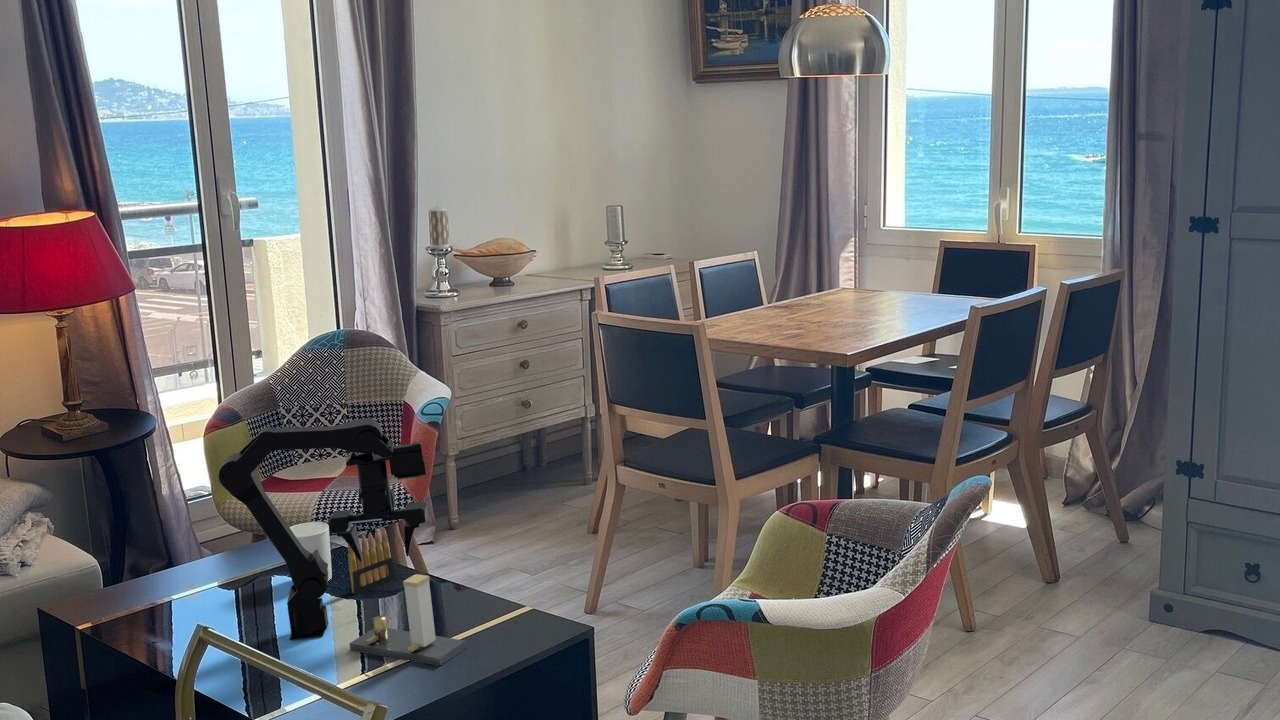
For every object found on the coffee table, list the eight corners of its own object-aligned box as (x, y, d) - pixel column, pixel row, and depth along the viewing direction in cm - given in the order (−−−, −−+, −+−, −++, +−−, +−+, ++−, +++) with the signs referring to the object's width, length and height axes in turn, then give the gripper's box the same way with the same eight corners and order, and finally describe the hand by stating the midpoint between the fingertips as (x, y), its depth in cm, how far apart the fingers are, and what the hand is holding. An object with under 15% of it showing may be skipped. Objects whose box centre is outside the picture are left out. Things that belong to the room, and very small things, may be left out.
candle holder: (328, 587, 258) (321, 535, 256) (284, 590, 259) (276, 538, 256) (340, 571, 268) (334, 520, 266) (297, 573, 268) (290, 523, 266)
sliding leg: (403, 651, 219) (395, 585, 217) (422, 638, 224) (415, 574, 222) (417, 653, 218) (409, 587, 215) (436, 640, 223) (429, 575, 220)
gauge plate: (350, 650, 225) (346, 623, 224) (377, 633, 232) (374, 607, 231) (440, 666, 216) (437, 638, 215) (465, 648, 223) (462, 620, 222)
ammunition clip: (355, 595, 253) (348, 541, 251) (350, 593, 254) (343, 540, 252) (395, 578, 261) (389, 526, 259) (390, 576, 262) (384, 525, 260)
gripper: (425, 466, 241) (435, 539, 244) (333, 476, 240) (344, 549, 243) (419, 482, 230) (430, 558, 233) (322, 493, 229) (334, 569, 232)
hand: (384, 558), depth 236 cm, fingers open, 9 cm apart
